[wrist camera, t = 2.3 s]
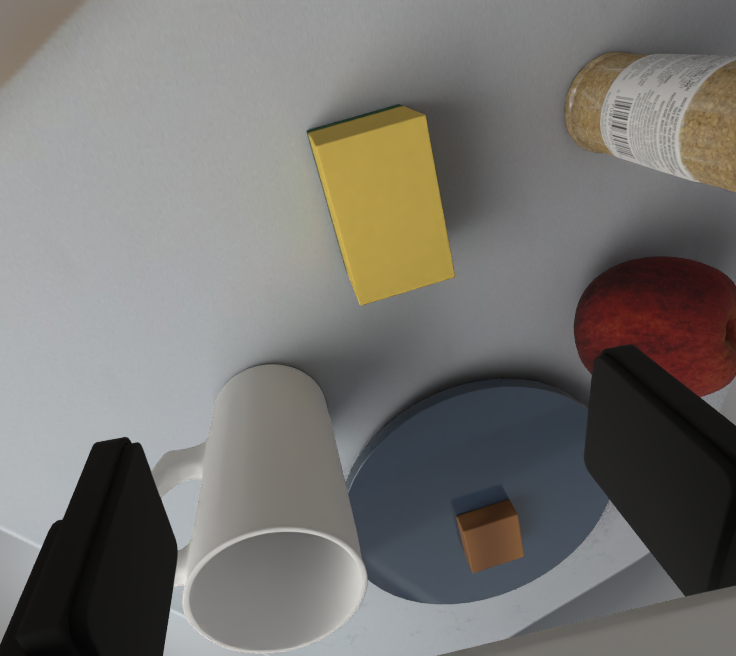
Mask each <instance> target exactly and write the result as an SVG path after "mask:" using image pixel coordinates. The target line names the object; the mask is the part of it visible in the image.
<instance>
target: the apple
mask: <svg viewBox="0 0 736 656" xmlns="http://www.w3.org/2000/svg"><path fill="white" fill-rule="evenodd" d="M574 337H575V343H576V347H577V351H578V354H579V357H580V359H581V361H582V363H583V364H584V366H585V367H586V368H587V370H588V371H589V372H590V373H591V374H592V370H593V362H594V360H595V358H597V357H600V353H601V352H602V350H604V349H606V348H612V347H617V346H622V345H628V344H631V345H634V346H635V347H637V348H638V349H639V350H641V351H642V352H643V353H644V354H646V355H647V356H648V357H649V358H651V359H652V360H653V361H655V362H656V363H657V364H658V365H660V366H661V367H662V368H663V369H665V370H666V371H667V372H668V373H670V374H671V375H672V376H674V377H675V378H676V379H677V380H679V381H680V382H681V383H682V384H684V385H685V386H686V387H687V388H689V389H690V390H691V391H692V392H694V393H695V394H696V395H698V396H699V397H702V396H705V395H708V394H711V393H713V392H716V391H718V390H720V389H722V388H724V387H725V386H726V385H728V384H729V383H730V382H731V381H732V380H733V379H734V377H735V376H736V286H735V284H734V282H733V281H732V280H731V279H730V278H729V277H728V276H727V275H725V274H724V273H722V272H721V271H719V270H717V269H716V268H713V267H711V266H709V265H706V264H703V263H700V262H697V261H693V260H689V259H684V258H677V257H664V256H661V257H644V258H638V259H634V260H630V261H626V262H624V263H621V264H618V265H616V266H614V267H612V268H610V269H608V270H606V271H605V272H603V273H602V274H601V275H599V276H598V277H597V278H595V279H594V280H593V281H592V282H591V283H590V284H589V286H588V287H587V288H586V290H585V291H584V293H583V294H582V296H581V298H580V300H579V303H578V306H577V309H576V314H575V320H574Z"/></svg>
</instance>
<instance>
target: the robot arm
mask: <svg viewBox="0 0 736 656" xmlns="http://www.w3.org/2000/svg"><path fill="white" fill-rule="evenodd" d="M584 462H585V466H586V468H587V470H588V472H589V474H590V475H591V476H592V478H593V479H594V480H595V481H596V483H597V484H598V485H599V487H600V488H601V489H602V490H603V492H604V493H605V494H606V495H607V497H608V498H609V499H610V501H611V502H612V503H613V504H614V506H615V507H616V508H617V510H618V511H619V512H620V513H621V515H622V516H623V517H624V519H625V520H626V521H627V522H628V524H629V525H630V526H631V528H632V529H633V530H634V531H635V533H636V534H637V535H638V536H639V538H640V539H641V540H642V542H643V543H644V544H645V545H646V547H647V548H648V549H649V551H650V552H651V553H652V554H653V556H654V557H655V558H656V560H657V561H658V562H659V563H660V565H661V566H662V567H663V569H664V570H665V571H666V572H667V574H668V575H669V576H670V577H671V579H672V580H673V581H674V583H675V584H676V585H677V586H678V588H679V589H680V590H681V592H682V593H683V594H684V595H685V597H683V598H679V599H674V600H670V601H665V602H661V603H657V604H652V605H648V606H644V607H640V608H636V609H631V610H627V611H623V612H618V613H614V614H610V615H605V616H601V617H597V618H593V619H589V620H584V621H580V622H576V623H571V624H567V625H563V626H559V627H555V628H550V629H546V630H542V631H538V632H534V633H530V634H525V635H521V636H518V637H513V638H509V639H505V640H500V641H496V642H492V643H488V644H484V645H480V646H476V647H471V648H467V649H463V650H459V651H455V652H451V653H447V654H442V655H438V656H736V426H735V425H734V424H733V423H732V422H730V421H729V420H728V419H727V418H725V417H724V416H723V415H722V414H720V413H719V412H718V411H717V410H715V409H714V408H713V407H711V406H710V405H709V404H708V403H706V402H705V401H704V400H703V399H701V398H700V397H699V396H698V395H696V394H695V393H694V392H692V391H691V390H690V389H689V388H687V387H686V386H685V385H684V384H682V383H681V382H680V381H679V380H677V379H676V378H675V377H674V376H672V375H671V374H670V373H668V372H667V371H666V370H665V369H663V368H662V367H661V366H660V365H658V364H657V363H656V362H655V361H653V360H652V359H651V358H649V357H648V356H647V355H646V354H644V353H643V352H642V351H641V350H639V349H638V348H637V347H635V346H634V345H631V344H628V345H622V346H617V347H612V348H606V349H604V350H602V352H601V353H600V357H597V358H595V360H594V362H593V370H592V379H591V389H590V399H589V409H588V419H587V428H586V438H585V448H584ZM177 559H178V550H177V543H176V539H175V536H174V534H173V531H172V528H171V525H170V522H169V520H168V517H167V514H166V511H165V509H164V506H163V503H162V500H161V498H160V495H159V492H158V489H157V487H156V484H155V481H154V478H153V475H152V473H151V470H150V467H149V464H148V462H147V459H146V456H145V453H144V451H143V448H142V446H141V444H140V443H138V442H137V443H131V441H130V440H129V438H127V437H123V438H117V439H112V440H106V441H101V442H96V443H95V444H94V445H93V447H92V449H91V451H90V454H89V456H88V459H87V461H86V464H85V466H84V469H83V471H82V473H81V476H80V478H79V481H78V483H77V486H76V488H75V491H74V493H73V496H72V498H71V500H70V503H69V505H68V508H67V510H66V513H65V515H64V518H63V519H62V520H58V521H56V522H55V523H54V524H53V525H52V526H51V528H50V530H49V532H48V534H47V536H46V539H45V541H44V543H43V546H42V548H41V550H40V553H39V555H38V557H37V560H36V562H35V564H34V567H33V569H32V571H31V574H30V576H29V579H28V581H27V583H26V585H25V588H24V590H23V592H22V595H21V597H20V599H19V602H18V604H17V607H16V609H15V611H14V614H13V616H12V618H11V621H10V623H9V625H8V628H7V631H6V632H5V635H4V637H3V639H2V642H1V644H0V656H163V651H164V645H165V638H166V632H167V625H168V619H169V612H170V606H171V599H172V593H173V586H174V579H175V573H176V566H177Z"/></svg>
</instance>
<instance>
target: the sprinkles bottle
mask: <svg viewBox="0 0 736 656" xmlns="http://www.w3.org/2000/svg"><path fill="white" fill-rule="evenodd" d="M565 122H566V126H567V129H568V132H569V134H570V136H571V137H572V139H573V140H574V141H575V142H576V143H577V144H578V145H579V146H580V147H582V148H584V149H586V150H588V151H590V152H594V153H607V154H610V155H614V156H616V157H618V158H620V159H623V160H626V161H629V162H632V163H636V164H639V165H642V166H645V167H648V168H652V169H655V170H658V171H661V172H664V173H668V174H671V175H674V176H678V177H681V178H684V179H687V180H691V181H695V182H700V183H705V184H709V185H713V186H716V187H719V188H724V189H726V190H729V191H733V192H736V55H696V54H653V55H633V54H631V53H627V52H611V53H607V54H603V55H601V56H599V57H597V58H596V59H594V60H592V61H590V62H589V63H588V64H587V65H586V66H585V67H584V68H583V69H582V70H581V71H580V73H579V74H578V75H577V77H576V78H575V79H574V81H573V83H572V85H571V87H570V89H569V91H568V94H567V97H566V102H565Z"/></svg>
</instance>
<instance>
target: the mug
mask: <svg viewBox="0 0 736 656" xmlns="http://www.w3.org/2000/svg"><path fill="white" fill-rule="evenodd" d="M151 473H152V475H153V478H154V481H155V484H156V487H157V489H158V492H159V495H160V498H162V496H163V495H165V494H166V493H167V492H168V491H169V490H171V489H172V488H173V487H175V486H176V485H178V484H179V483H182V482H184V481H187V480H192V479H202V481H201V487H200V493H199V500H198V506H197V512H196V518H195V524H194V530H193V535H192V539H191V541H190V542H189V544H188V545H187V546H185V547H184V548H183V549H181V550H179V551H178V559H177V566H176V573H175V579H174V586H179V585H184V590H183V599H182V602H183V610H184V613H185V616H186V618H187V620H188V621H189V623H190V624H191V625H192V627H193V628H194V629H195V630H196V631H197V632H198V633H199V634H201V635H202V636H203V637H204V638H206V639H207V640H209V641H211V642H213V643H215V644H217V645H219V646H221V647H224V648H227V649H231V650H235V651H240V652H247V653H277V652H284V651H289V650H294V649H298V648H301V647H304V646H307V645H310V644H312V643H315V642H317V641H319V640H321V639H323V638H325V637H327V636H329V635H330V634H332V633H334V632H335V631H336V630H338V629H339V628H340V627H342V626H343V625H344V624H345V623H346V622H347V621H348V620H349V619H350V618H351V617H352V616H353V615H354V614H355V612H356V611H357V610H358V608H359V606H360V605H361V603H362V601H363V599H364V596H365V593H366V590H367V583H368V577H367V571H366V568H365V565H364V563H363V561H362V557H361V551H360V546H359V540H358V535H357V531H356V526H355V522H354V517H353V513H352V509H351V505H350V501H349V496H348V492H347V488H346V484H345V480H344V475H343V471H342V467H341V463H340V458H339V454H338V450H337V445H336V441H335V437H334V432H333V428H332V424H331V420H330V417H329V413H328V409H327V404H326V400H325V397H324V395H323V392H322V390H321V389H320V387H319V386H318V384H317V383H316V382H315V381H314V380H313V379H312V378H311V377H310V376H308V375H307V374H305V373H304V372H302V371H300V370H298V369H295V368H293V367H289V366H285V365H277V364H268V365H260V366H255V367H252V368H249V369H246V370H244V371H242V372H240V373H238V374H237V375H235V376H234V377H232V378H231V379H230V380H229V381H228V382H227V383H226V384H225V385H224V386H223V388H222V389H221V390H220V392H219V394H218V396H217V398H216V401H215V404H214V408H213V415H212V420H211V426H210V431H209V435H208V438H207V439H206V441H205V442H203V443H202V444H200V445H197V446H195V447H191V448H187V449H181V450H173V451H169V452H167V453H165V454H164V455H163V456H162V458H161V459H160V460H159V462H158V463H157V464H156V466H155V467H154V468H153V470H152V471H151ZM174 586H173V587H174Z"/></svg>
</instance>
